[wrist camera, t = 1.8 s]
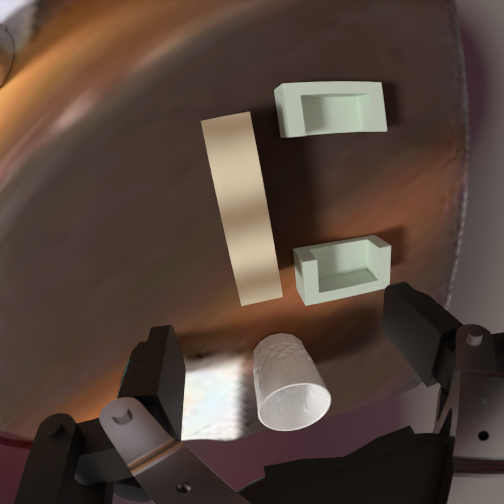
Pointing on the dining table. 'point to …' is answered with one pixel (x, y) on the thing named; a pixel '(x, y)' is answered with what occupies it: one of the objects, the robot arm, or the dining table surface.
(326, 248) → the end cap
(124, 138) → the dining table surface
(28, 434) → the dining table surface
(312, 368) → the white cup
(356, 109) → the end cap
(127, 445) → the robot arm
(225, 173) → the wooden block
